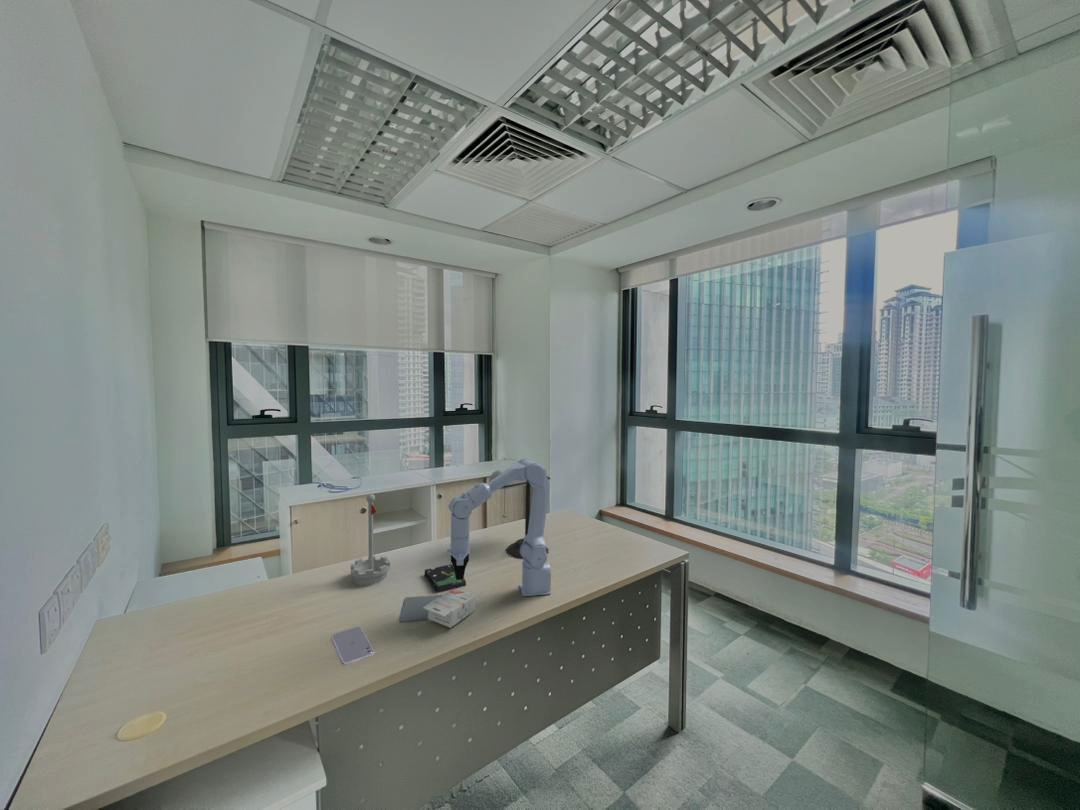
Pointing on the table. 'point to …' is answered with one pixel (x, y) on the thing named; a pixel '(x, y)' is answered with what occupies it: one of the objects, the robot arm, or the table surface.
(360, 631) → the mobile phone
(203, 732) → the table surface
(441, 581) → the disk drive
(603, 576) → the table surface
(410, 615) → the mat
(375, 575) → the flag stand
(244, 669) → the table surface
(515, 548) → the lamp
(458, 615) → the ink cartridge box
